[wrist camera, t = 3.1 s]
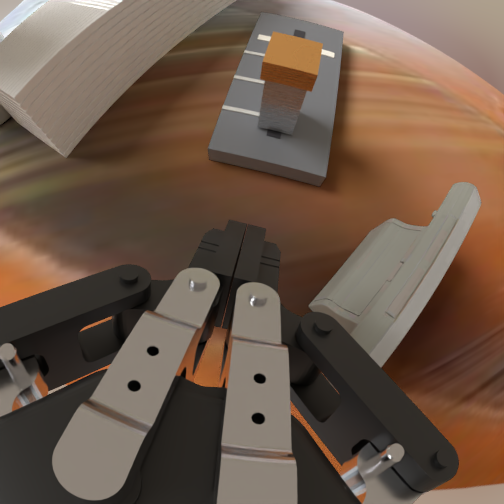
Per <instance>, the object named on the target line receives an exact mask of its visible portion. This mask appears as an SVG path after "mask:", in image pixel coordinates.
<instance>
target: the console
mask: <svg viewBox="0 0 504 504" xmlns="http://www.w3.org/2000/svg"><path fill="white" fill-rule="evenodd" d="M273 32H278V33H283V34H287V35H292V36H296V37H300V38H304V39H308V40H312V41H315V42H319V43H322V44H323V46H322V53H321V59H320V65H319V70H318V76H317V79H316V81H315V84H314V87H313V90H312V92H310V91H307V92H306V95H305V98H304V101H303V104H302V107H301V110H300V113H299V116H298V119H297V122H296V125H295V128H294V131H293V134H292V135H290V134H286V133H282V132H278V131H274V130H270V129H265V128H261V127H258V120H259V114H260V108H261V101H262V95H263V88H264V82H265V80H261V79H260V76H261V69H262V62H263V59H264V56H265V53H266V50H267V47H268V44H269V42H270V39H271V36H272V33H273ZM342 43H343V32H342V31H339V30H336V29H332V28H329V27H326V26H322V25H318V24H315V23H311V22H307V21H303V20H299V19H295V18H290V17H286V16H281V15H276V14H271V13H266V12H261V14H260V16H259V19H258V21H257V23H256V26H255V28H254V30H253V32H252V35H251V37H250V39H249V42H248V44H247V47H246V49H245V51H244V54H243V56H242V59H241V61H240V64H239V66H238V69H237V71H236V74H235V75H234V79H233V81H232V84H231V86H230V89H229V92H228V94H227V97H226V99H225V102H224V105H223V107H222V110H221V113H220V116H219V118H218V121H217V124H216V127H215V129H214V132H213V135H212V138H211V141H210V144H209V147H208V154H209V160H213V161H218V162H222V163H227V164H231V165H236V166H240V167H245V168H249V169H253V170H257V171H262V172H266V173H270V174H274V175H278V176H282V177H286V178H289V179H293V180H297V181H301V182H305V183H308V184H312V185H316V186H319V187H320V185H321V184H322V182H323V181H324V179H325V178H326V173H327V167H328V160H329V153H330V146H331V139H332V132H333V124H334V117H335V109H336V101H337V92H338V83H339V74H340V64H341V54H342Z"/></svg>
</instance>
